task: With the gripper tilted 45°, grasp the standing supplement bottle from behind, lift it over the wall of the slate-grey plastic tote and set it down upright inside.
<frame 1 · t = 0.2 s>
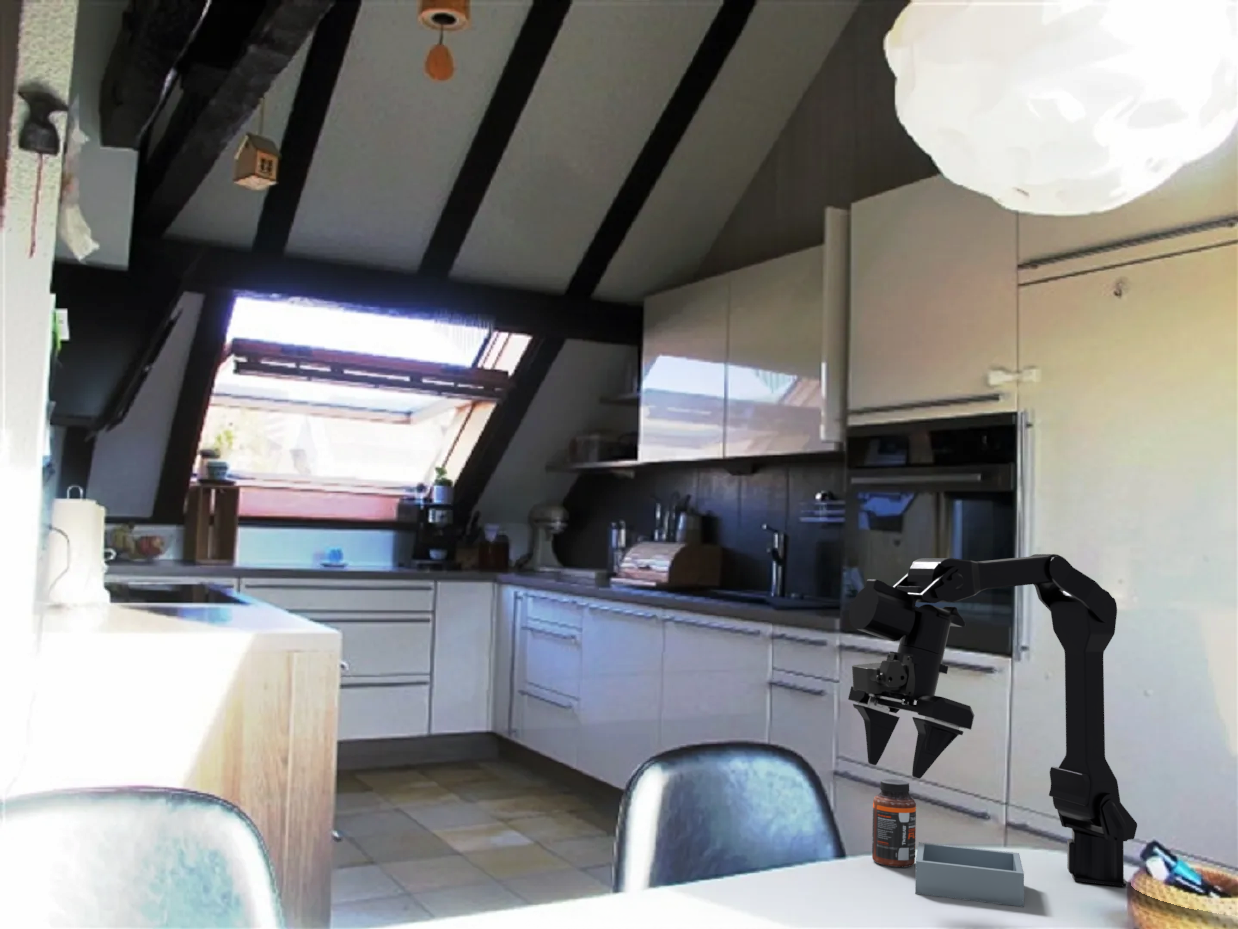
hand: (893, 771, 138), 16 cm above the table, tool pointing down, fingers open, 9 cm apart
tote: (968, 888, 142), on the table
supplement bottle: (893, 864, 154), on the table
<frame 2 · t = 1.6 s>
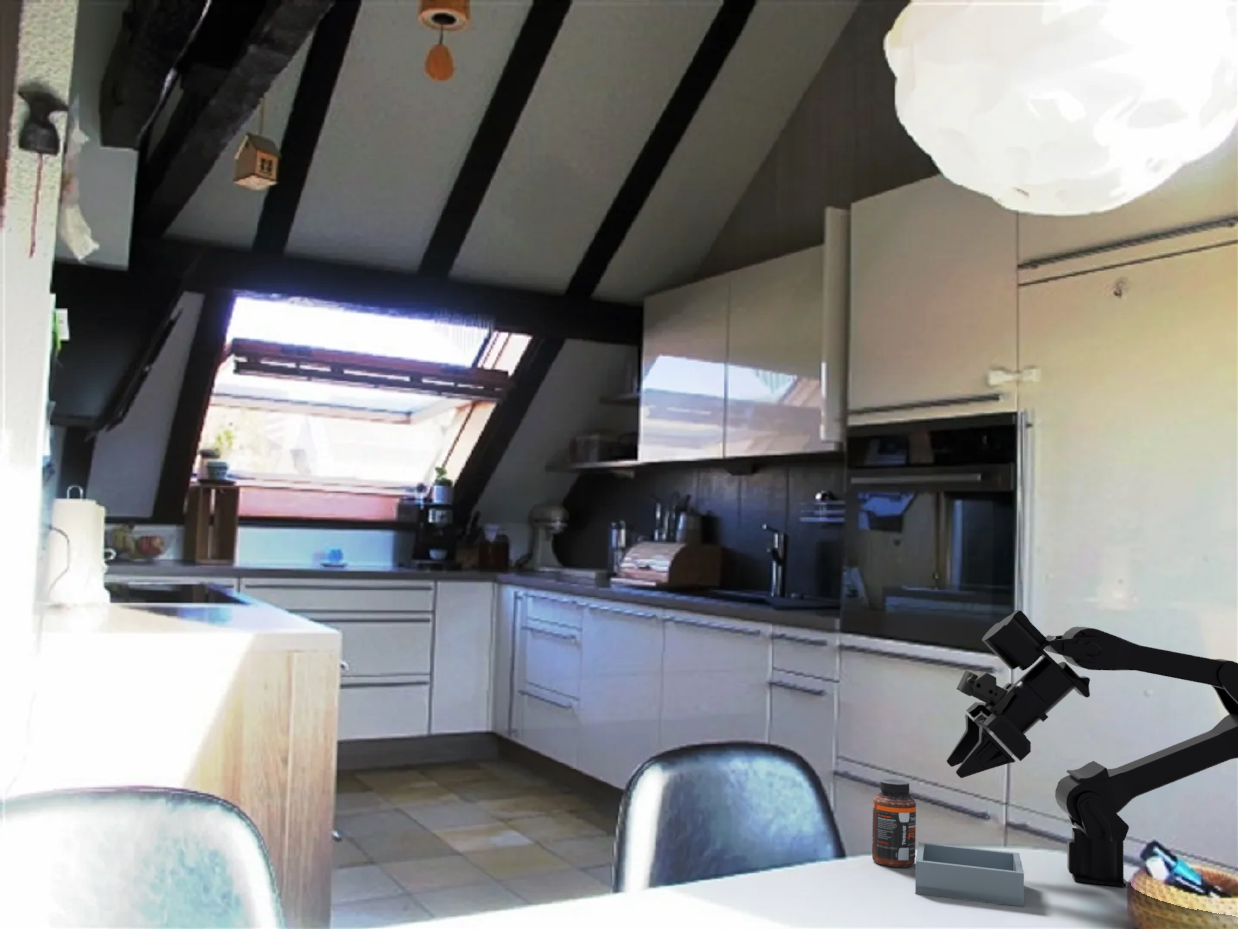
hand: (953, 769, 154), 13 cm above the table, tool tilted 45°, fingers open, 9 cm apart
nothing on the table moved.
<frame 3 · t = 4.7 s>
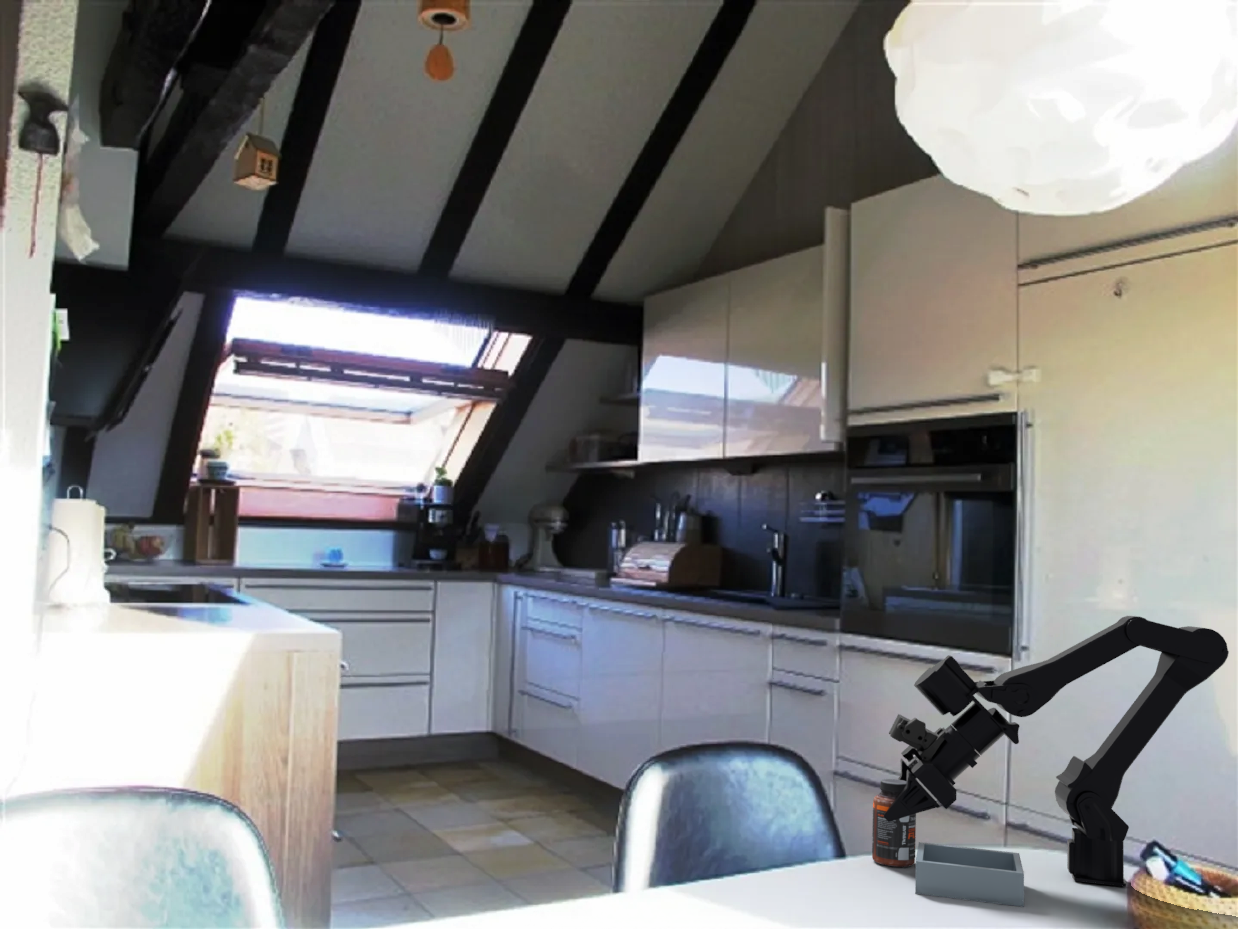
hand: (884, 814, 155), 7 cm above the table, tool tilted 45°, fingers closed on supplement bottle, 6 cm apart
supplement bottle: (893, 864, 154), on the table, touching gripper
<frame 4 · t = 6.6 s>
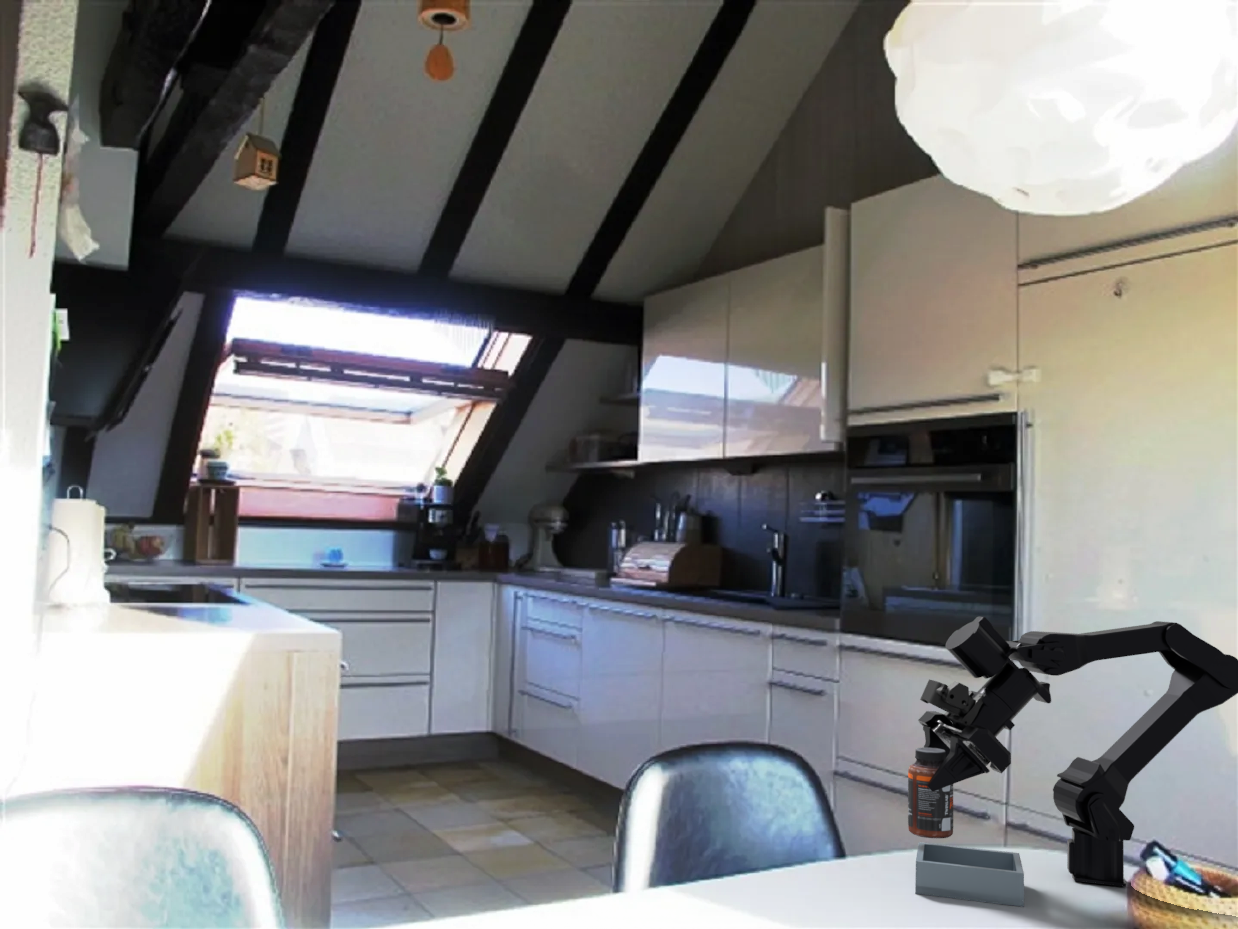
hand: (920, 784, 148), 12 cm above the table, tool tilted 45°, fingers closed on supplement bottle, 6 cm apart
supplement bottle: (930, 836, 148), point 5 cm above the table, touching gripper
when the fingers open (9 cm above the table, at t = 8.3 s): supplement bottle drops 1 cm, resting on tote.
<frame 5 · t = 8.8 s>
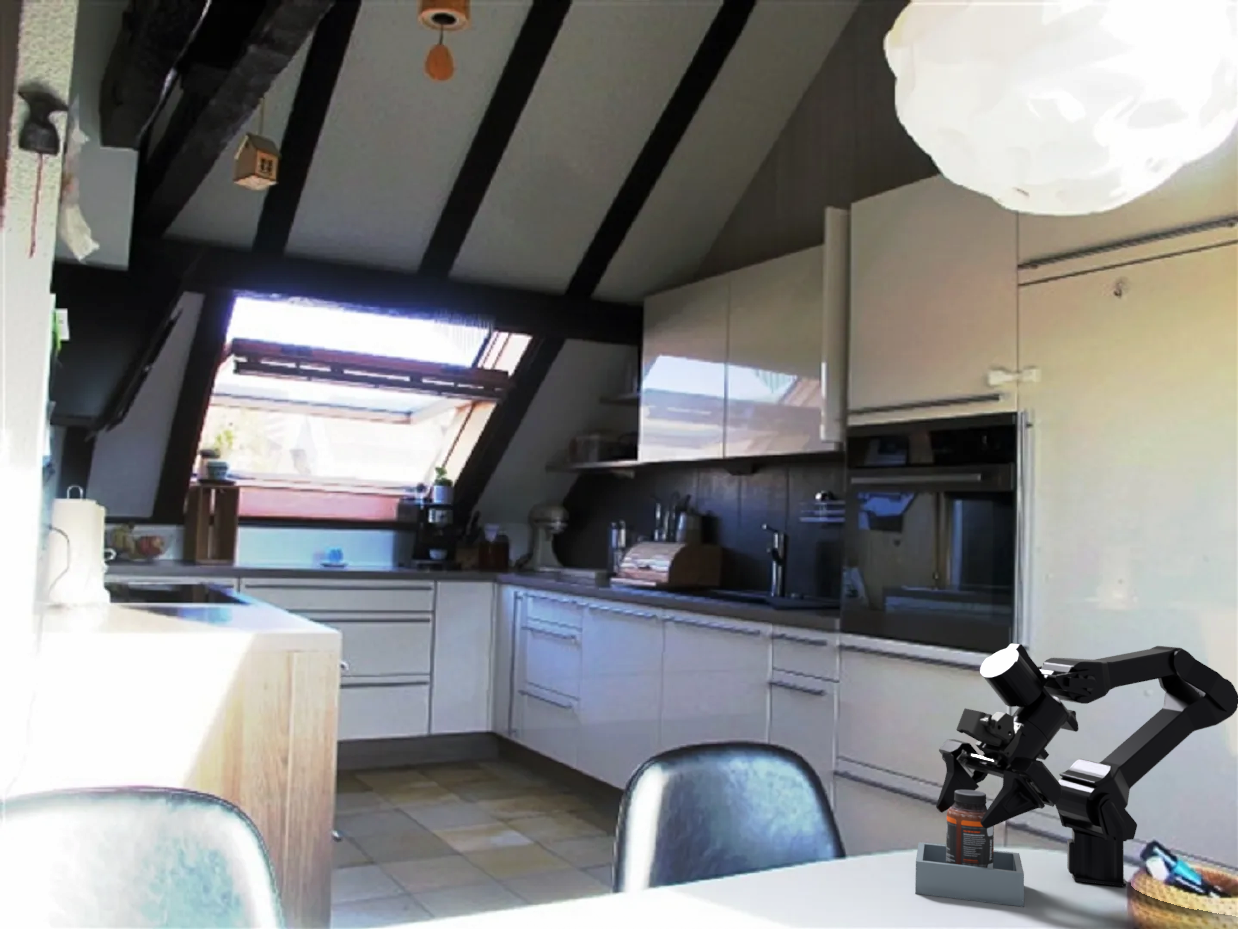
hand: (960, 818, 143), 9 cm above the table, tool tilted 45°, fingers open, 9 cm apart
supplement bottle: (969, 882, 142), point 1 cm above the table, touching tote
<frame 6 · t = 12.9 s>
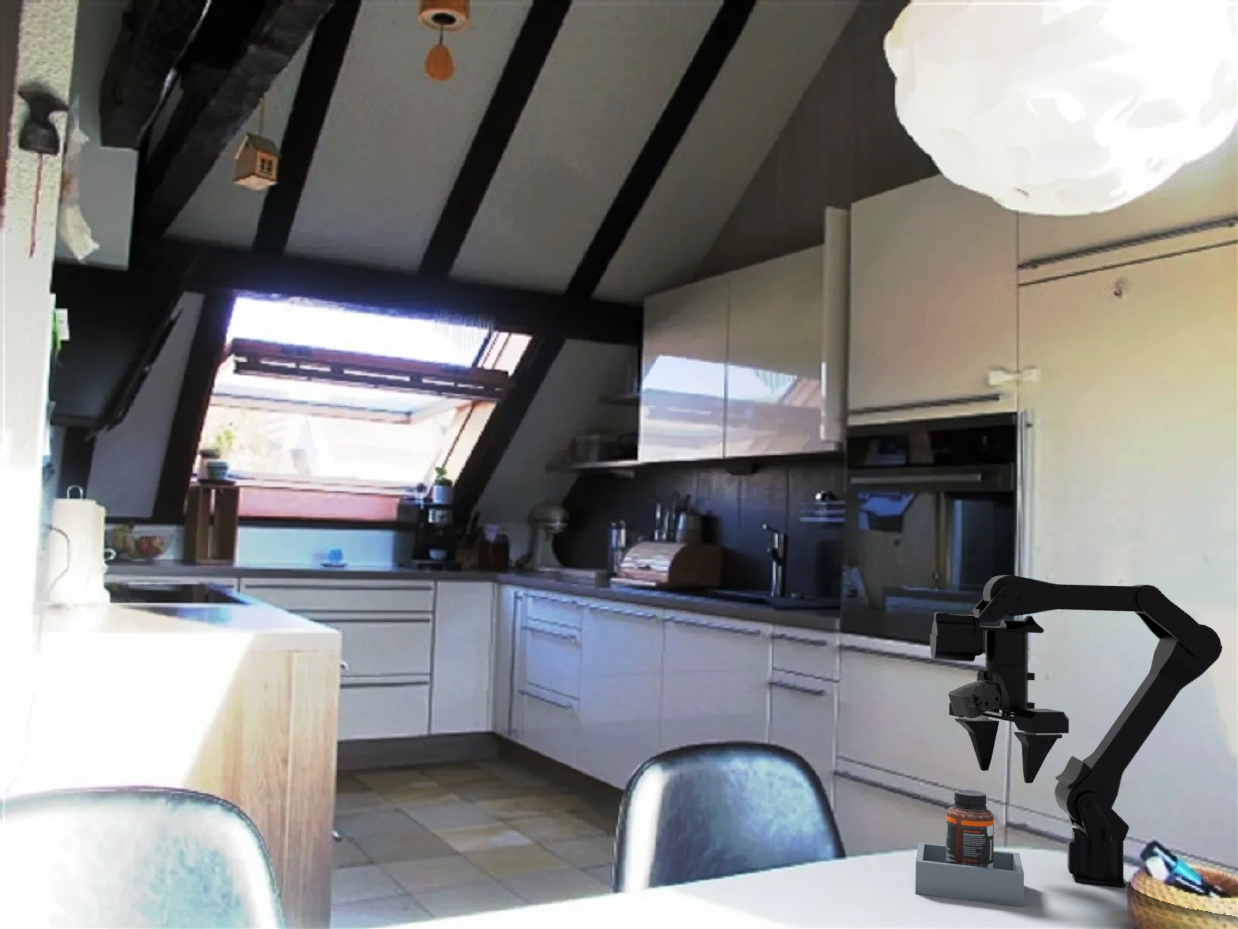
hand: (1005, 776, 152), 13 cm above the table, tool pointing down, fingers open, 9 cm apart
nothing on the table moved.
at the end: supplement bottle 0.1 cm off-centre on the tote, point 0.8 cm above the tote's base; supplement bottle tilted 0°; the gripper is holding nothing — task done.
